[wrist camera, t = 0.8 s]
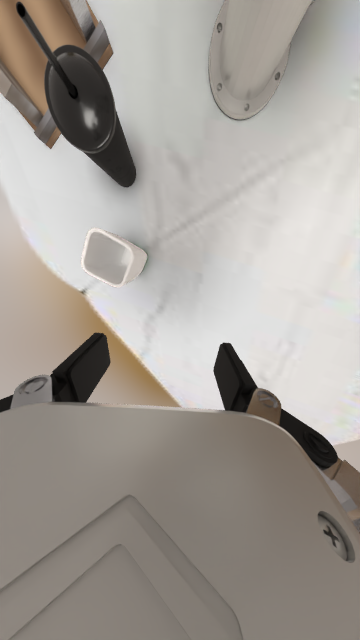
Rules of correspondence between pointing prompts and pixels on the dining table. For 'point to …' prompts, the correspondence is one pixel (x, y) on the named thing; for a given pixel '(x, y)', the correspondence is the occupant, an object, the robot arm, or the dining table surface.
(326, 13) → the dining table surface
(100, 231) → the cup
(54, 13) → the base
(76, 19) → the sliding jaw
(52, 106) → the drinking cup
